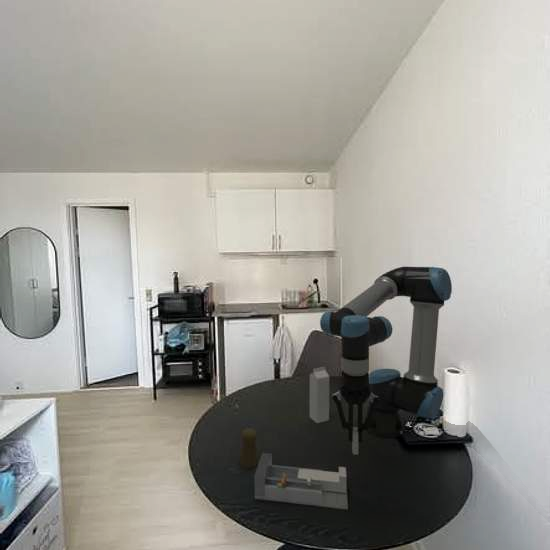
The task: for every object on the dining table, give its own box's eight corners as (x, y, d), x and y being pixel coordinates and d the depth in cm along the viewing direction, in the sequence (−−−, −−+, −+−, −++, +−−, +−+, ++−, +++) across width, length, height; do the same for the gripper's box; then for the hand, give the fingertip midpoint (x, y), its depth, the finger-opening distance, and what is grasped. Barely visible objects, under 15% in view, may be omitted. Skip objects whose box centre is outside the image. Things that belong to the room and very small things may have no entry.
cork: (244, 470, 111) (243, 437, 110) (237, 460, 116) (237, 428, 115) (261, 464, 114) (261, 432, 113) (253, 455, 119) (253, 424, 118)
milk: (309, 417, 146) (309, 366, 144) (321, 414, 148) (321, 364, 147) (317, 423, 140) (317, 371, 139) (329, 420, 143) (329, 368, 142)
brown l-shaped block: (285, 490, 99) (285, 473, 99) (283, 500, 95) (283, 482, 95) (277, 489, 100) (277, 472, 100) (275, 499, 96) (275, 481, 95)
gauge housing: (346, 482, 104) (346, 460, 104) (347, 509, 94) (347, 485, 93) (262, 474, 109) (262, 452, 108) (254, 498, 98) (254, 475, 97)
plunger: (345, 482, 103) (345, 467, 102) (346, 500, 96) (346, 483, 95) (298, 478, 105) (298, 462, 105) (296, 494, 98) (296, 478, 98)
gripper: (377, 367, 99) (377, 445, 101) (331, 365, 101) (332, 442, 103) (381, 377, 91) (380, 461, 93) (331, 375, 94) (332, 457, 95)
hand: (355, 451), depth 98 cm, fingers closed
